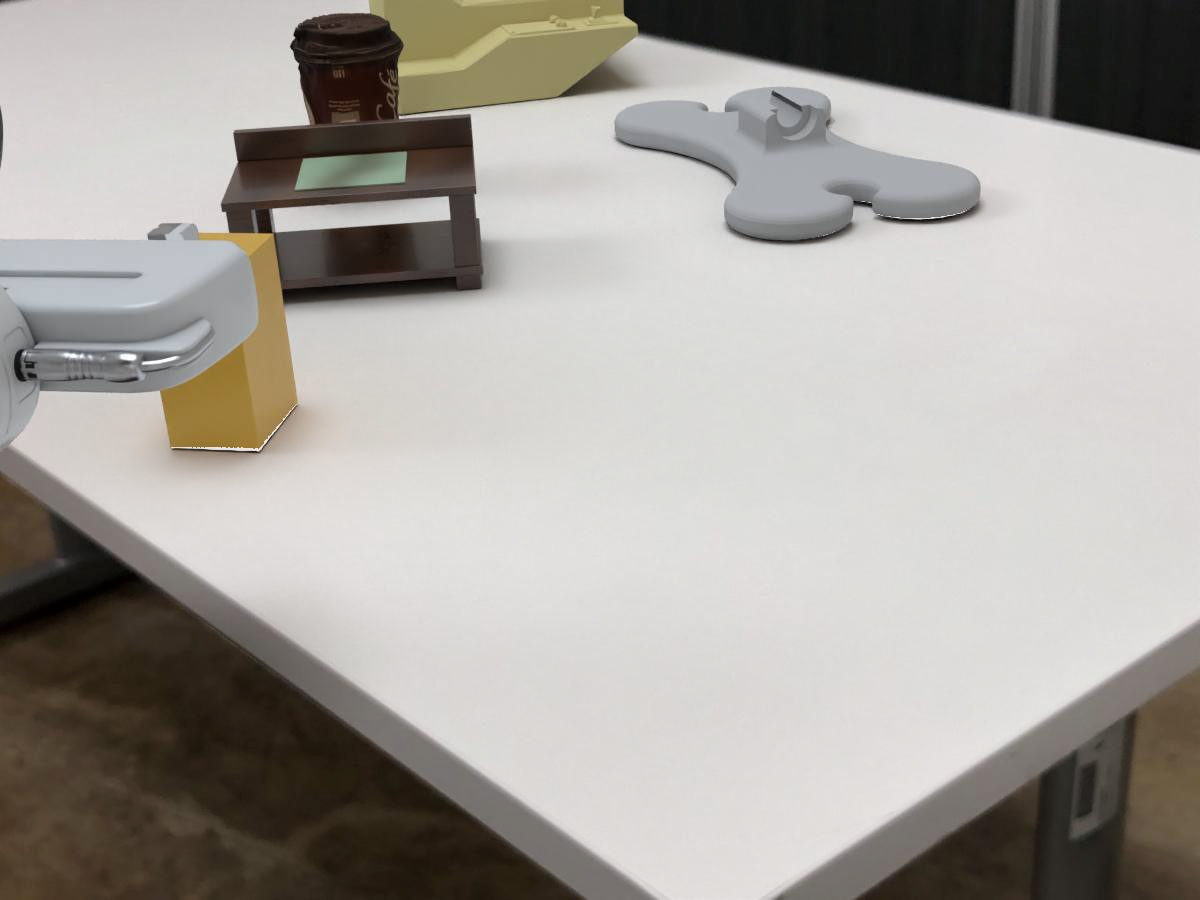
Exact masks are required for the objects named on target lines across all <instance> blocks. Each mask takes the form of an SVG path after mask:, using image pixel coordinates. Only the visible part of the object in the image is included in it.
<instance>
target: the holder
mask: <svg viewBox="0 0 1200 900" xmlns="http://www.w3.org/2000/svg"><path fill="white" fill-rule="evenodd" d="M831 114H832V104H831V100H830V99H829V97H828V96H827V95H825V94H824V93H823V92H820V91H818V90H815V89H810V88H805V87H797V86H767V87H759V88H758V87H757V88H752V89H748V90H747V89H746V90H743V91H740V92H737V93H735V94H733V95H731V96H730V97H729V98H728V99H727V100H726V101H725V103H724V111H723V112H722V111H721V112H720V111H719V112H718V111H709V107H708V106H707V104H705V103H703V102H699V101H694V100H693V101H692V100H681V99H680V100H675V99H673V100H672V99H670V100H668V99H667V100H655V101H647V102H642V103H638V104H634V105H631V106H628V107H626V108H624V109H622V110H621V111H619V112H618V113H617V115H616V117H614V133H615V135H616V137H617V138H618V140H620V141H622V142H623V143H625V144H627V145H631V146H634V147H639V148H645V149H651V150H652V149H653V150H658V151H659V150H660V151H665V152H670V153H675V154H679V155H683V156H686V157H691V158H694V159H697V160H700V161H702V162H705V163H707V164H710V165H712V166H715V167H716V168H718V169H720V170H722V171H723V172H725V173H727V175H729V176H730V177H731V178H732V179H733V181H734V182H735V186H734V188H733V190H731V192H730V193H729V194H728V195H727V196H726V197H725V201H724V203H723V209H724V210H723V215H724V216H723V217H724V220H725V222H726V223H727V225H728V226H730V227H731V228H732V229H733V230H735V231H736V232H738V233H740V234H743V235H746V236H749V237H753V238H756V239H761V240H762V239H763V240H770V241H771V240H772V241H798V240H797V239H804V240H807V239H806V238H812V239H814V238H813V237H818V236H823V235H826V234H830V233H832V232H834V231H837V232H839V231H841V230H842V229H841V228H843V229H844V228H846V227H847V226H848V225H849V224H850V223H851V221H852V220H853V218H854V217H853V216H854V202H853V201H865V202H871V203H873V204H871V205H872V212H873V213H874V214H875V215H877V214H880V215H883V216H891V217H900V218H931V217H941V216H947V215H953V214H957V213H961V212H963V211H966V210H968V209H970V208H972V207H973V206H974V207H975V206H976V205H978V203H979V200H980V198H981V182H980V179H979V178H978V177H977V175H976V174H975V173H973V172H972V171H971V170H969V169H967V168H965V167H962V166H959V165H955V164H951V163H947V162H941V161H934V160H928V159H920V158H915V157H914V158H913V157H909V156H902V155H897V154H892V153H889V152H884V151H880V150H876V149H872V148H869V147H867V146H863V145H860V144H857V143H854V142H851V141H849V140H847V139H844V138H843V137H841V136H839V135H837V134H835V133H834V132H832V131H831V130H830V129H829V128H828V127H827V121H828V120H829V119H830V118H831ZM974 207H973V208H974ZM973 208H972V209H973ZM970 210H971V209H970ZM847 224H848V225H847ZM846 225H847V226H846ZM845 226H846V227H845ZM840 229H841V230H840ZM838 230H839V231H838ZM832 234H833V233H832ZM830 235H831V234H830ZM823 237H824V236H823ZM818 238H819V237H818Z"/></svg>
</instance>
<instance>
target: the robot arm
mask: <svg viewBox="0 0 1200 900" xmlns="http://www.w3.org/2000/svg"><path fill="white" fill-rule="evenodd" d="M3 150H4V120H3V113H2V108H1V106H0V169H1V168H2V161H3ZM157 226H158V227H155V228H153V229H152V230H150V231H149V232H148V233H147V234H146V236H147V239H71V238H69V239H68V238H67V239H66V238H65V239H61V238H60V239H59V238H57V239H54V238H53V239H51V238H50V239H49V238H0V453H2V452H3V451H4V450H5V449H6V448H8V447H9V446H10V445H11V443H13V442H14V441H15V440H16V439H17V438H18V437H19V436H20V435H21V434H22V433H23V432H24V431H25V429H26V428H27V426H28V425H29V423H30V421H31V420H32V417H33V416H34V413H35V411H36V408H37V405H38V401H39V397H40V393H41V392H66V393H103V394H104V393H106V394H107V393H110V394H141V393H143V394H144V393H153V392H160V390H164V389H168V388H171V387H174V386H177V385H180V384H182V383H184V382H186V381H188V380H190V379H192V378H194V377H196V376H197V375H199V374H200V373H202V372H203V371H205V370H206V369H208V368H209V367H211V366H212V365H214V364H215V363H216V362H218V361H219V360H220V359H222V358H223V357H224V356H226V355H227V354H229V353H230V352H231V351H232V350H233V349H235V348H236V347H237V346H238V345H240V344H241V343H242V342H243V341H244V340H245V339H247V338H248V337H249V336H250V335H251V334H252V333H253V332H254V330H255V329H256V327H257V324H258V318H259V316H258V300H257V292H256V285H255V280H254V275H253V270H252V266H251V262H250V260H249V257H248V255H247V254H246V252H245V251H244V250H243V249H242V248H241V247H240V246H239V245H237V244H236V243H234V242H231V241H224V240H199V234H198V233H199V229H198V226H197V224H195V223H193V222H191V223H189V222H161V223H160V224H158V225H157Z"/></svg>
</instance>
